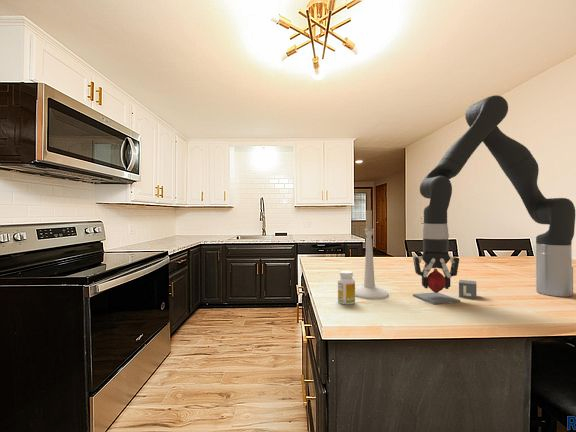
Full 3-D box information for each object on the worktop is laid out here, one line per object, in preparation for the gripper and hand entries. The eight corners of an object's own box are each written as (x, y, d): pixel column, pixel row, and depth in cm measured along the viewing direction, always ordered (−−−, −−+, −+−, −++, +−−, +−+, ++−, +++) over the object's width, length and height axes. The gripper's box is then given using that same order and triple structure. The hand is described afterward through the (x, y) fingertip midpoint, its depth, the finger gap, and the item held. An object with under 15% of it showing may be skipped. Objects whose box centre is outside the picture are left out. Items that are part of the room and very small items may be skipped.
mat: (437, 293, 104) (437, 292, 104) (460, 301, 94) (460, 300, 94) (412, 295, 101) (412, 294, 101) (433, 304, 92) (433, 302, 92)
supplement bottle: (356, 301, 96) (356, 271, 96) (353, 305, 91) (352, 274, 91) (340, 299, 98) (340, 269, 98) (335, 303, 93) (335, 272, 93)
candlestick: (370, 301, 95) (370, 208, 95) (343, 292, 106) (342, 209, 106) (396, 295, 102) (396, 208, 102) (368, 287, 113) (367, 209, 113)
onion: (448, 295, 94) (448, 270, 94) (429, 294, 95) (428, 270, 95) (442, 290, 100) (442, 267, 100) (424, 290, 101) (424, 266, 101)
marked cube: (459, 293, 104) (459, 279, 104) (476, 295, 101) (476, 281, 101) (458, 297, 100) (458, 282, 99) (476, 299, 97) (476, 284, 97)
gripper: (454, 236, 100) (454, 286, 100) (409, 236, 102) (410, 285, 103) (463, 238, 93) (464, 291, 93) (415, 238, 95) (415, 290, 95)
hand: (435, 288), depth 98 cm, fingers closed on onion, 5 cm apart
